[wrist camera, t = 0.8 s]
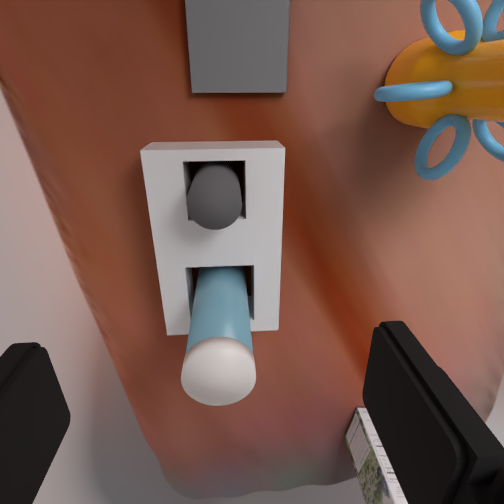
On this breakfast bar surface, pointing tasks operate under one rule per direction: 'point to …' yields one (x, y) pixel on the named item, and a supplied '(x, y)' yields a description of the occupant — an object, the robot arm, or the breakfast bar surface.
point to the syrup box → (372, 462)
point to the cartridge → (219, 339)
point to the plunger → (215, 196)
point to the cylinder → (450, 83)
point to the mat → (238, 45)
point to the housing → (216, 241)
